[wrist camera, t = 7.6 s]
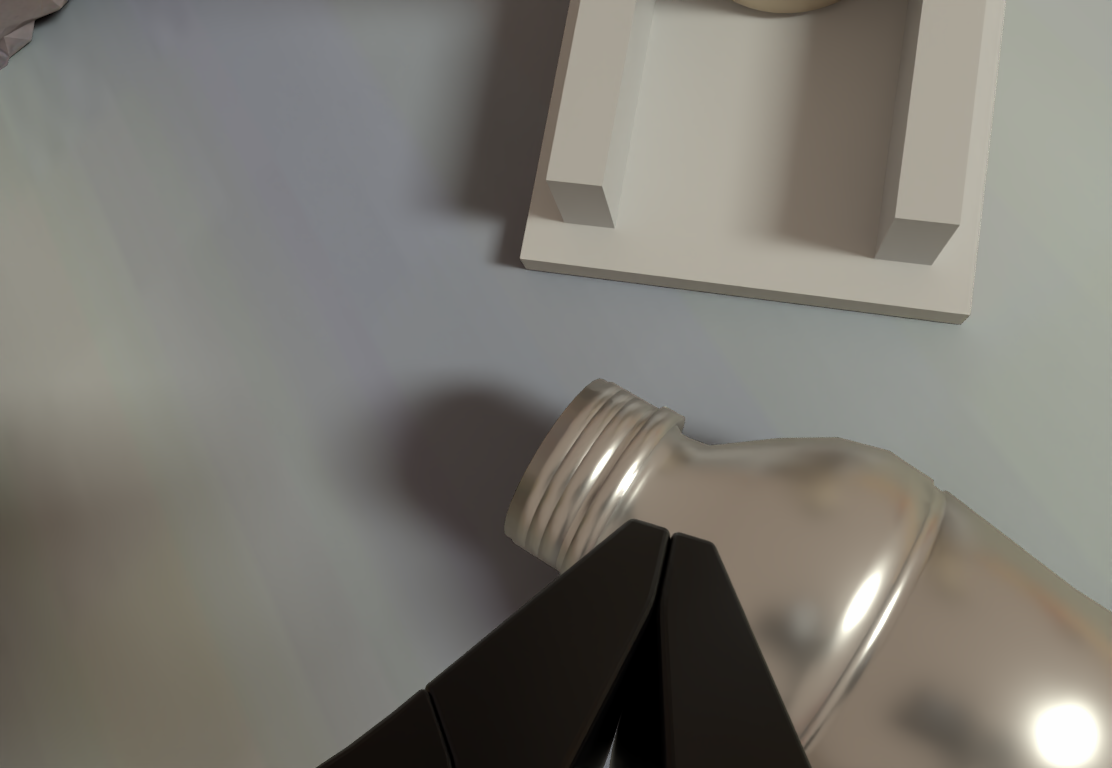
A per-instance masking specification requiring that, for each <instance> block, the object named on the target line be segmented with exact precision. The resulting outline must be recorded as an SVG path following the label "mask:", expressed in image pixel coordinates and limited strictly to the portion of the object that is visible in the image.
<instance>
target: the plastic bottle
mask: <svg viewBox="0 0 1112 768" xmlns="http://www.w3.org/2000/svg"><path fill="white" fill-rule="evenodd" d="M684 424H685V417H684V416H682V415H680V414H678V413H677V412H675V411H673V410H671V409H669V408H668V407H664V406H663V407H661V408H660V409H659V408H657V407H655V406H653V405H652V404H650V403H648V402H646V401H645V400H643V399H641V398H639V397H637V396H636V395H634V394H632V393H631V392H629V391H627V390H625V389H623V388H622V387H620V386H618V385H617V384H615V383H613V382H607V381H605V380H604V379H600V378H599V379H597V380H594V381H593V382H591V383H590V384H589V385H588V386H586V387H585V388H584V389H583V390H582V391H581V392H580V393H579V394H578V395H577V396H576V397H575V399H574V400H573V401H572V402H571V403H570V404H569V406H568V407H567V408H566V409H565V411H564V412H563V413H562V415H561V416H560V417H559V418H558V420H557V421H556V423H555V424H554V426H553V427H552V428H551V430H550V431H549V433H548V434H547V436H546V437H545V439H544V440H543V442H542V444H541V445H540V447H539V448H538V450H537V452H536V453H535V455H534V457H533V459H532V460H531V462H530V464H529V466H528V467H527V469H526V471H525V473H524V475H523V477H522V479H521V481H520V483H519V485H518V487H517V489H516V492H515V494H514V496H513V499H512V501H511V504H510V506H509V509H508V512H507V515H506V520H505V524H504V532H505V535H506V536H507V537H509V538H511V539H512V540H513V543H515V544H516V545H518V546H519V547H521V548H523V549H524V550H526V551H527V552H529V553H531V554H532V555H534V556H535V557H537V558H539V559H540V560H542V561H543V562H545V563H546V564H548V565H549V566H551V567H553V568H554V569H556V570H557V571H559V572H560V575H561V574H563V573H564V572H565V571H566V570H568V569H569V568H570V567H571V566H572V565H574V564H575V563H576V562H577V561H579V560H580V559H581V558H582V557H583V556H585V555H586V554H587V553H588V552H590V551H591V550H592V549H593V548H594V547H596V546H597V545H598V544H599V543H601V542H602V541H603V540H604V539H605V538H607V537H608V536H609V535H610V534H612V533H613V532H614V531H615V530H616V529H618V528H619V527H620V526H621V525H623V524H624V523H625V522H626V521H628V520H629V519H638V520H642V521H645V522H648V523H652V524H655V525H658V526H661V527H665V528H667V529H668V530H669V532H670V538H671V536H672V534H674V533H676V532H681V533H685V534H688V535H691V536H695V537H698V538H701V539H705V540H708V541H710V542H712V543H713V544H714V545H715V546H716V548H717V550H718V552H719V555H720V557H721V559H722V562H723V564H724V566H725V568H726V571H727V573H728V575H729V578H730V580H731V582H732V585H733V587H734V589H735V592H736V594H737V596H738V598H739V601H740V603H741V605H742V608H743V610H744V612H745V615H746V617H747V619H748V621H749V624H750V626H751V628H752V631H753V633H754V635H755V638H756V640H757V642H758V644H759V647H760V649H761V651H762V654H763V656H764V658H765V661H766V663H767V665H768V667H769V670H770V672H771V674H772V677H773V679H774V681H775V684H776V686H777V688H778V690H779V693H780V695H781V697H782V700H783V702H784V704H785V707H786V709H787V711H788V713H789V716H790V718H791V720H792V723H793V725H794V727H795V730H796V732H797V734H798V736H799V739H800V741H801V743H802V746H803V748H804V750H805V753H806V755H807V757H808V759H809V762H810V764H811V766H812V768H1112V612H1111V611H1109V610H1108V609H1106V608H1104V607H1103V606H1101V605H1100V604H1098V603H1097V602H1095V601H1094V600H1092V599H1090V598H1089V597H1087V596H1086V595H1084V594H1083V593H1081V592H1080V591H1078V590H1076V589H1075V588H1073V587H1072V586H1071V585H1070V584H1068V583H1067V582H1066V581H1064V580H1063V579H1062V578H1060V577H1059V576H1058V575H1057V574H1055V573H1054V572H1053V571H1051V570H1050V569H1049V568H1047V567H1046V566H1045V565H1043V564H1042V563H1041V562H1040V561H1038V560H1037V559H1036V558H1034V557H1033V556H1032V555H1030V554H1029V553H1028V552H1026V551H1025V550H1024V549H1023V548H1021V547H1020V546H1019V545H1017V544H1016V543H1015V542H1013V541H1012V540H1011V539H1010V538H1008V537H1007V536H1006V535H1004V534H1003V533H1002V532H1000V531H999V530H998V529H996V528H995V527H994V526H993V525H991V524H990V523H989V522H987V521H986V520H985V519H983V518H982V517H981V516H979V515H978V514H977V513H976V512H974V511H973V510H972V509H970V508H969V507H968V506H966V505H965V504H964V503H963V502H961V501H960V500H959V499H957V498H956V497H955V496H953V495H952V494H951V493H949V492H948V491H946V490H945V491H943V492H942V491H941V490H939V489H938V488H937V487H936V486H934V480H933V479H931V478H930V477H928V476H927V475H925V474H924V473H922V472H921V471H919V470H917V469H916V468H914V467H913V466H911V465H910V464H908V463H907V462H905V461H904V460H902V459H901V458H899V457H898V456H896V455H895V454H894V453H892V452H891V451H888V450H885V449H881V448H877V447H873V446H869V445H866V444H862V443H858V442H854V441H850V440H846V439H843V438H839V437H815V438H774V439H765V440H755V441H746V442H737V443H728V444H718V445H707V444H704V443H701V442H699V441H696V440H693V439H690V438H688V437H686V436H685V435H683V434H682V431H683V428H684Z"/></svg>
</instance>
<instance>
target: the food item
mask: <svg viewBox="0 0 1112 768" xmlns="http://www.w3.org/2000/svg"><path fill="white" fill-rule="evenodd" d="M67 1H68V0H0V70H1V69H2V68H4V67H5V66H7V64H8V61H9V58H10V57H11V56H12V55H13V54H15V53H16V52H17V51H18V50H20V49H21V48H22V47H24V46H25V45H26V44H27V43H29V42H30V41H31V40H32V34H33V28H34V22H35V19H38V18H40V17H43V16H46V15H48V14H51V13H53V12H56V11H58V10H60V9H61V8H62V7H63V6H64V4H65V3H66V2H67Z"/></svg>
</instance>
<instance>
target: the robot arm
mask: <svg viewBox="0 0 1112 768" xmlns="http://www.w3.org/2000/svg"><path fill="white" fill-rule="evenodd" d="M617 726H618V727H617ZM616 729H617V731H616ZM615 732H616V735H615ZM614 735H615V740H614V744H613V749H612V754H611V760H610V766H609V768H812V766H811V764H810V762H809V759H808V757H807V755H806V753H805V750H804V748H803V746H802V743H801V741H800V739H799V736H798V734H797V732H796V730H795V727H794V725H793V723H792V720H791V718H790V716H789V713H788V711H787V709H786V707H785V704H784V702H783V700H782V697H781V695H780V693H779V690H778V688H777V686H776V684H775V681H774V679H773V677H772V674H771V672H770V670H769V667H768V665H767V663H766V661H765V658H764V656H763V654H762V651H761V649H760V647H759V644H758V642H757V640H756V638H755V635H754V633H753V631H752V628H751V626H750V624H749V621H748V619H747V617H746V615H745V612H744V610H743V608H742V605H741V603H740V601H739V598H738V596H737V594H736V592H735V589H734V587H733V585H732V582H731V580H730V578H729V575H728V573H727V571H726V568H725V566H724V564H723V562H722V559H721V557H720V555H719V552H718V550H717V548H716V546H715V545H714V544H713V543H712V542H710V541H708V540H705V539H701V538H698V537H695V536H691V535H688V534H685V533H681V532H676V533H674V534H672V536H671V538H670V532H669V530H668V529H667V528H665V527H661V526H658V525H655V524H652V523H648V522H645V521H642V520H638V519H629V520H628V521H626V522H625V523H624V524H623V525H621V526H620V527H619V528H618V529H616V530H615V531H614V532H613V533H612V534H610V535H609V536H608V537H607V538H605V539H604V540H603V541H602V542H601V543H599V544H598V545H597V546H596V547H594V548H593V549H592V550H591V551H590V552H588V553H587V554H586V555H585V556H583V557H582V558H581V559H580V560H579V561H577V562H576V563H575V564H574V565H572V566H571V567H570V568H569V569H568V570H566V571H565V572H564V573H563V574H561V575H560V576H559V577H558V578H557V579H555V580H554V581H553V582H552V583H550V584H549V585H548V586H547V587H546V588H544V589H543V590H542V591H541V592H539V593H538V594H537V595H536V596H535V597H533V598H532V599H531V600H530V601H528V602H527V603H526V604H525V605H524V606H522V607H521V608H520V609H519V610H517V611H516V612H515V613H514V614H513V615H511V616H510V617H509V618H508V619H506V620H505V621H504V622H503V623H502V624H500V625H499V626H498V627H497V628H495V629H494V630H493V631H492V632H491V633H489V634H488V635H487V636H486V637H484V638H483V639H482V640H481V641H480V642H478V643H477V644H476V645H475V646H473V647H472V648H471V649H470V650H469V651H467V652H466V653H465V654H464V655H462V656H461V657H460V658H459V659H458V660H456V661H455V662H454V663H453V664H451V665H450V666H449V667H448V668H447V669H445V670H444V671H443V672H442V673H440V674H439V675H438V676H437V677H436V678H434V679H433V680H432V681H431V682H429V683H428V684H427V685H426V688H425V690H424V689H421V690H419V691H418V692H417V693H415V694H414V695H413V696H412V697H411V698H409V699H408V700H407V701H406V702H404V703H403V704H402V705H401V706H400V707H398V708H397V709H396V710H395V711H394V712H392V713H391V714H390V715H388V716H387V717H386V718H385V719H383V720H382V721H381V722H379V723H378V724H377V725H375V726H374V727H373V728H371V729H370V730H369V731H367V732H366V733H365V734H363V735H362V736H361V737H359V738H358V739H357V740H356V741H354V742H353V743H352V744H350V745H349V746H348V747H346V748H345V749H343V750H342V751H340V752H339V753H337V754H336V755H334V756H333V757H331V758H330V759H328V760H327V761H325V762H324V763H322V764H321V765H319V766H318V767H316V768H603V767H604V765H605V762H606V759H607V757H608V754H609V751H610V748H611V745H612V742H613V739H614Z"/></svg>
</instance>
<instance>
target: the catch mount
mask: <svg viewBox="0 0 1112 768" xmlns="http://www.w3.org/2000/svg"><path fill="white" fill-rule="evenodd" d="M1005 5H1006V0H841V1H839V2H836V3H834V4H832V5H829V6H826V7H823V8H820V9H816V10H811V11H807V12H798V13H772V12H764V11H760V10H756V9H752V8H748V7H746V6H743V5H741V4H738V3H736V2H734V1H732V0H570V4H569V9H568V14H567V19H566V24H565V29H564V34H563V40H562V45H561V50H560V55H559V60H558V65H557V70H556V75H555V81H554V86H553V91H552V96H551V101H550V106H549V111H548V116H547V122H546V127H545V132H544V137H543V142H542V147H541V152H540V157H539V162H538V168H537V173H536V178H535V183H534V188H533V193H532V198H531V203H530V209H529V214H528V219H527V224H526V229H525V234H524V239H523V244H522V250H521V255H520V260H521V261H522V263H523V264H524V266H525V268H526V269H530V270H538V271H546V272H553V273H561V274H569V275H577V276H585V277H593V278H600V279H608V280H616V281H624V282H632V283H640V284H647V285H655V286H663V287H671V288H679V289H687V290H694V291H702V292H710V293H718V294H726V295H733V296H741V297H749V298H757V299H765V300H773V301H780V302H788V303H796V304H804V305H812V306H820V307H827V308H835V309H843V310H851V311H859V312H867V313H874V314H882V315H890V316H898V317H906V318H914V319H921V320H929V321H937V322H945V323H953V324H960V325H961V324H962V323H963V322H964V321H965V320H966V319H967V318H968V317H969V316H970V312H971V304H972V295H973V286H974V277H975V268H976V260H977V251H978V242H979V233H980V225H981V216H982V207H983V198H984V189H985V181H986V172H987V163H988V154H989V145H990V137H991V128H992V119H993V110H994V102H995V93H996V84H997V75H998V66H999V58H1000V49H1001V40H1002V31H1003V22H1004V14H1005Z"/></svg>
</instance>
